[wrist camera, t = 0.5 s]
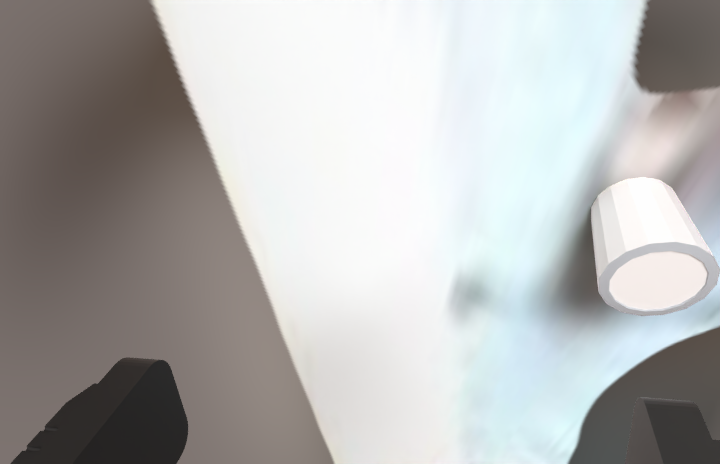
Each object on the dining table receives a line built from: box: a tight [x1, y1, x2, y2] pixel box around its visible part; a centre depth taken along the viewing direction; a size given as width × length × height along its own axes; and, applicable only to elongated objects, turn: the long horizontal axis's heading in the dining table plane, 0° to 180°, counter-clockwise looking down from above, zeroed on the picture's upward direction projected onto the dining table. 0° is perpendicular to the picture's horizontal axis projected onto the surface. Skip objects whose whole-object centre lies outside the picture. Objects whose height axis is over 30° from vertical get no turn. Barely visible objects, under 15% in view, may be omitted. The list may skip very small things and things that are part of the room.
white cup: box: [591, 177, 720, 316], centre depth 37 cm, size 7×7×7 cm
